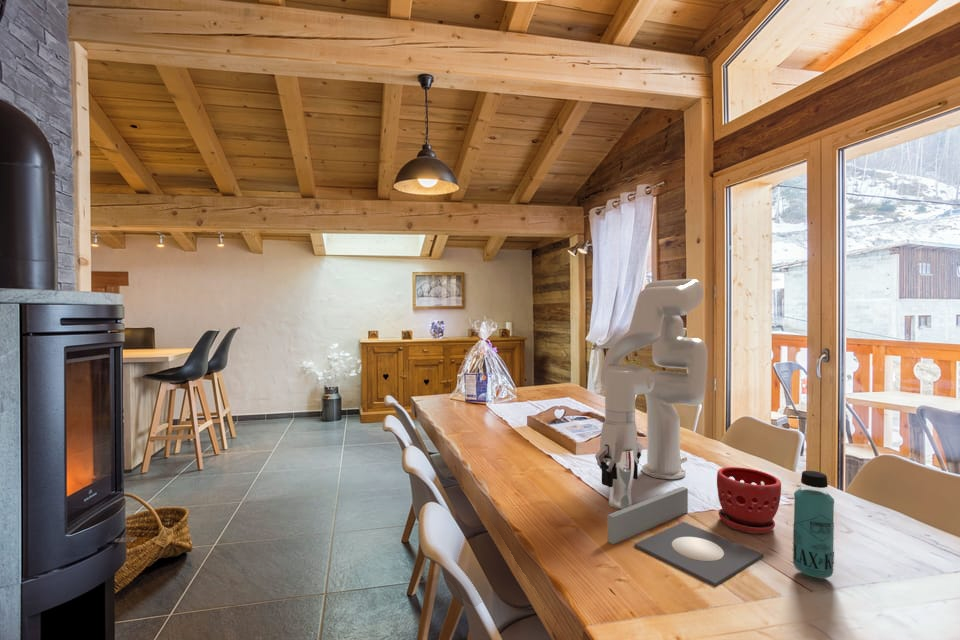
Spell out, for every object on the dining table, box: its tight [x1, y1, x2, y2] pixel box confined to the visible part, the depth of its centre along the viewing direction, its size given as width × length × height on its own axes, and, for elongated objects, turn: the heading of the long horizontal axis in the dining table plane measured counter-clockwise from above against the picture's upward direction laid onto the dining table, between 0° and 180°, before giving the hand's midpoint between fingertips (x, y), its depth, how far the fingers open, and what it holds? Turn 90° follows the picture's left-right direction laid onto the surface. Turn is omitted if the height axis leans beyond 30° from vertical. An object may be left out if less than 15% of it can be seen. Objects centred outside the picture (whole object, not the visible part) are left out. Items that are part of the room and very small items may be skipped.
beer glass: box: [607, 449, 634, 510], centre depth 124 cm, size 7×7×15 cm
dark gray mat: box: [634, 521, 764, 587], centre depth 100 cm, size 18×18×1 cm
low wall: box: [607, 486, 689, 545], centre depth 112 cm, size 28×2×6 cm, turn 124°
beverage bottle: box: [792, 470, 835, 579], centre depth 90 cm, size 6×7×20 cm
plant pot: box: [716, 466, 782, 534], centre depth 111 cm, size 13×13×12 cm
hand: (619, 481), depth 123 cm, fingers open, 9 cm apart
